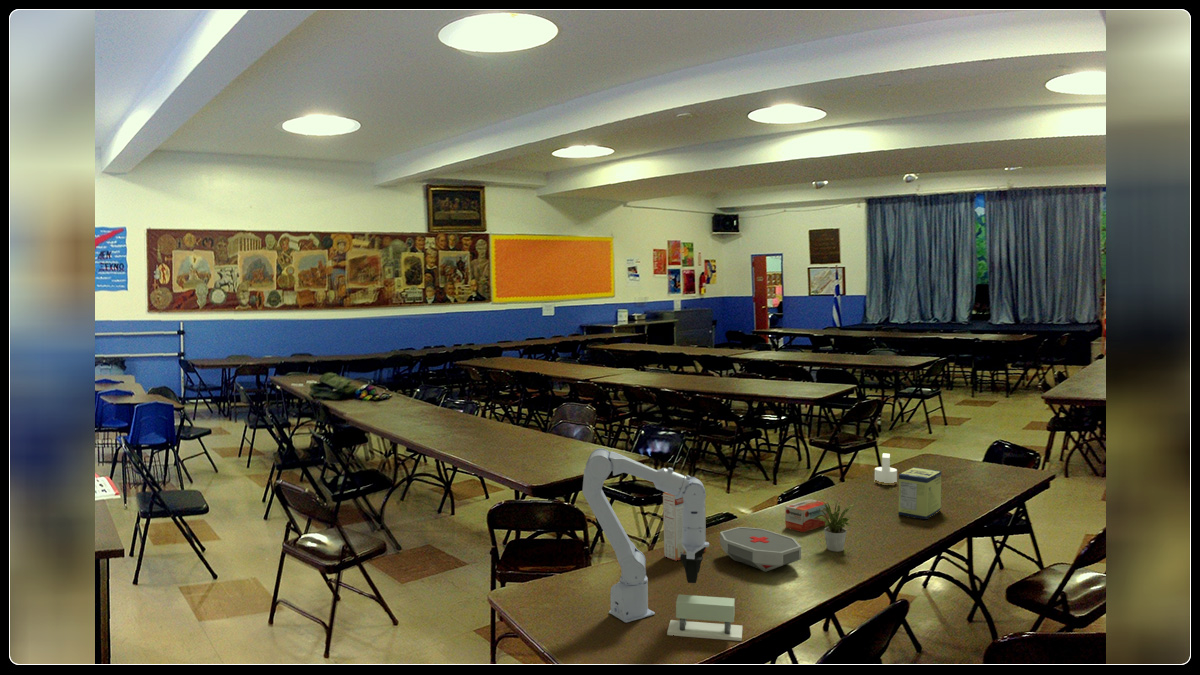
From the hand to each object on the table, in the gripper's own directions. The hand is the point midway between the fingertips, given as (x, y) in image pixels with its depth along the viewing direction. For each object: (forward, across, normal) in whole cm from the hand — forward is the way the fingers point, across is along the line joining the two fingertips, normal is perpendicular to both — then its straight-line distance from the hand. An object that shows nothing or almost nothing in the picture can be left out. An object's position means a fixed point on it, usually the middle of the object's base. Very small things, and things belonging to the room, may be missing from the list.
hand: (693, 577), depth 207 cm
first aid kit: (+10, +43, -16) cm, 47 cm away
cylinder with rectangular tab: (+10, +152, -66) cm, 166 cm away
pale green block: (+6, -10, -4) cm, 12 cm away
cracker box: (+10, +46, +8) cm, 47 cm away
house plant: (+10, +60, -38) cm, 72 cm away
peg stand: (+10, -10, -4) cm, 15 cm away
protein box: (+10, +107, -72) cm, 130 cm away
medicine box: (+10, +84, -31) cm, 90 cm away
